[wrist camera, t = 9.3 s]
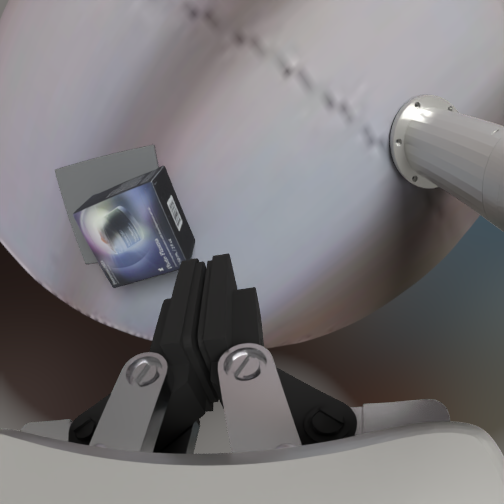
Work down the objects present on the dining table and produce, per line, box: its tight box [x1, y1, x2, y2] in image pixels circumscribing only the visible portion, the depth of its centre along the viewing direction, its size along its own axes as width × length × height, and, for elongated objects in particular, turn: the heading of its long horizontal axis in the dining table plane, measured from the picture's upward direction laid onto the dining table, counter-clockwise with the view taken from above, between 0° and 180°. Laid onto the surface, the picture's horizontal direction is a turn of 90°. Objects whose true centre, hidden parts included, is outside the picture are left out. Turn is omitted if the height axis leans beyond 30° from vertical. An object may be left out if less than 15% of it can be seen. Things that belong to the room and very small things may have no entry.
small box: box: [73, 166, 195, 288], centre depth 33 cm, size 11×6×10 cm
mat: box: [55, 145, 159, 264], centre depth 35 cm, size 14×14×1 cm
